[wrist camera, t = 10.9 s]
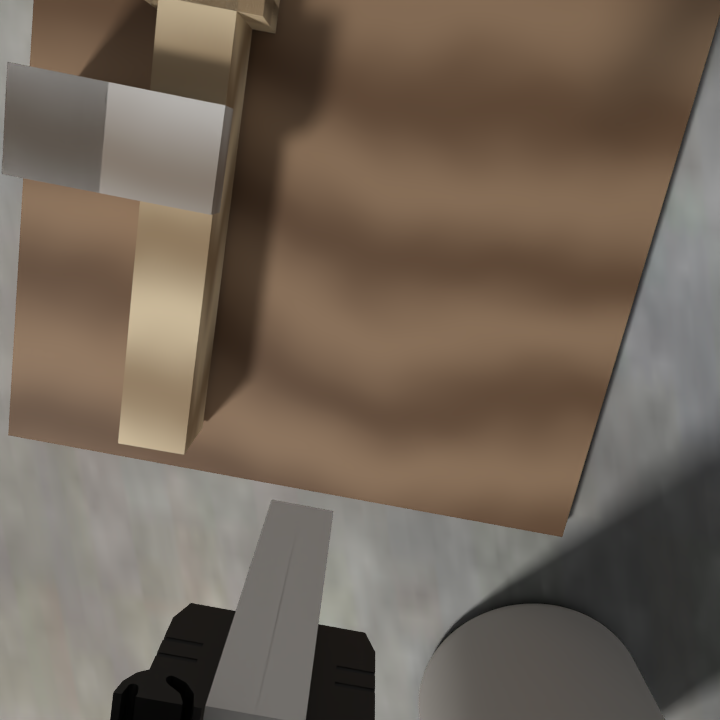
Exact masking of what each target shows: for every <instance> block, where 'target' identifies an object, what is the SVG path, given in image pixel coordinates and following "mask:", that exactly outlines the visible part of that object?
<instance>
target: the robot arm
mask: <svg viewBox="0 0 720 720" xmlns="http://www.w3.org/2000/svg"><path fill="white" fill-rule="evenodd" d="M332 517H333V511H330V510H325V509H319V508H314V507H309V506H303V505H298V504H293V503H287V502H282V501H276V500H271V504H270V507H269V510H268V513H267V516H266V519H265V522H264V525H263V528H262V531H261V535H260V538H259V541H258V544H257V547H256V550H255V553H254V556H253V559H252V562H251V566H250V569H249V572H248V575H247V578H246V581H245V584H244V587H243V590H242V594H241V597H240V600H239V603H238V606H237V609H236V611H232V610H226V609H221V608H215V607H210V606H204V605H199V604H193V603H191V604H189V605H188V606H187V607H186V608H184V609H183V610H182V611H181V612H179V613H178V614H177V615H176V616H175V617H173V619H172V621H171V624H170V626H169V628H168V630H167V632H166V635H165V637H164V640H163V641H162V643H161V645H160V648H159V650H158V652H157V656H155V659H154V661H153V663H152V665H151V667H150V670H146V671H141V672H137V673H135V674H134V675H132V676H130V677H129V678H127V679H125V680H124V681H122V683H121V684H120V685H119V686H118V688H117V689H116V690H115V691H114V693H113V701H112V710H111V718H110V720H375V693H374V691H375V651H374V649H373V647H372V645H371V643H370V641H369V639H368V637H367V635H366V634H365V633H363V632H358V631H352V630H347V629H341V628H336V627H330V626H325V625H319V624H318V623H319V615H320V608H321V600H322V593H323V585H324V578H325V570H326V563H327V555H328V547H329V540H330V532H331V525H332Z"/></svg>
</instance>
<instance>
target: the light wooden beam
mask: <svg viewBox="0 0 720 720" xmlns="http://www.w3.org/2000/svg"><path fill="white" fill-rule="evenodd" d="M145 1H146V2H148V3H149V4H150V5H152V6H153V7H154V8H156V9H157V19H156V30H155V41H154V52H153V63H152V74H151V85H150V90H151V91H156V92H161V93H166V94H171V95H176V96H181V97H186V98H191V99H196V100H201V101H206V102H211V103H216V104H221V105H225V106H228V107H230V108H232V109H233V116H232V124H231V131H230V139H229V146H228V153H227V161H226V168H225V176H224V183H223V191H222V198H221V206H220V213H216V214H212V215H209V214H204V213H199V212H194V211H189V210H183V209H178V208H173V207H168V206H163V205H158V204H153V203H148V202H143V201H140V206H139V217H138V228H137V239H136V250H135V261H134V272H133V283H132V294H131V305H130V317H129V328H128V339H127V350H126V361H125V372H124V383H123V394H122V405H121V416H120V427H119V438H118V443H119V444H125V445H131V446H136V447H142V448H148V449H154V450H159V451H165V452H171V453H177V454H183V455H184V454H185V453H186V451H187V450H188V448H189V447H190V445H191V444H192V442H193V441H194V439H195V438H196V436H197V435H198V433H199V432H200V430H201V429H202V427H203V421H204V413H205V405H206V397H207V389H208V381H209V373H210V365H211V357H212V349H213V341H214V333H215V325H216V317H217V309H218V301H219V293H220V285H221V277H222V269H223V261H224V253H225V245H226V237H227V229H228V221H229V213H230V205H231V197H232V189H233V181H234V173H235V165H236V157H237V149H238V141H239V133H240V125H241V117H242V109H243V101H244V93H245V85H246V77H247V69H248V61H249V53H250V45H251V37H252V29H254V30H259V31H264V32H269V33H275V34H276V26H277V19H278V11H279V4H280V0H145Z"/></svg>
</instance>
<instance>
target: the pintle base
mask: <svg viewBox="0 0 720 720" xmlns="http://www.w3.org/2000/svg"><path fill="white" fill-rule="evenodd" d="M719 16H720V0H280V4H279V11H278V19H277V26H276V34H275V33H269V32H264V31H259V30H254V29H252V37H251V45H250V53H249V61H248V69H247V77H246V85H245V93H244V101H243V109H242V117H241V125H240V133H239V141H238V149H237V157H236V165H235V173H234V181H233V189H232V197H231V205H230V213H229V221H228V229H227V237H226V245H225V253H224V261H223V269H222V277H221V285H220V293H219V301H218V309H217V317H216V325H215V333H214V341H213V349H212V357H211V365H210V373H209V381H208V389H207V397H206V405H205V413H204V421H203V427H202V429H201V430H200V432H199V433H198V435H197V436H196V438H195V439H194V441H193V442H192V444H191V445H190V447H189V448H188V450H187V451H186V453H185V454H184V455H183V454H177V453H171V452H165V451H159V450H154V449H148V448H142V447H136V446H131V445H125V444H119V443H118V438H119V427H120V416H121V405H122V394H123V383H124V372H125V361H126V350H127V339H128V328H129V317H130V305H131V294H132V283H133V272H134V261H135V250H136V239H137V228H138V217H139V206H140V201H143V202H148V203H153V204H158V205H163V206H168V207H173V208H178V209H183V210H189V211H194V212H199V213H204V214H209V215H212V214H216V213H220V206H221V198H222V191H223V183H224V176H225V168H226V161H227V153H228V146H229V139H230V131H231V124H232V116H233V109H232V108H230V107H228V106H225V105H221V104H216V103H211V102H206V101H201V100H196V99H191V98H186V97H181V96H176V95H171V94H166V93H161V92H156V91H151V90H150V85H151V74H152V63H153V52H154V41H155V30H156V19H157V9H156V8H154V7H153V6H152V5H150V4H149V3H148V2H146V1H145V0H34V4H33V22H32V39H31V56H30V66H26V65H21V64H16V63H11V62H7V80H6V100H5V120H4V140H3V160H2V174H4V175H9V176H15V177H20V178H23V193H22V210H21V228H20V245H19V262H18V279H17V296H16V313H15V331H14V348H13V365H12V382H11V399H10V416H9V433H8V435H10V436H16V437H21V438H27V439H32V440H38V441H43V442H48V443H54V444H59V445H65V446H70V447H76V448H81V449H87V450H92V451H97V452H103V453H108V454H114V455H119V456H125V457H130V458H135V459H141V460H146V461H152V462H157V463H163V464H168V465H174V466H179V467H184V468H190V469H195V470H201V471H206V472H212V473H217V474H222V475H228V476H233V477H239V478H244V479H250V480H255V481H261V482H266V483H271V484H277V485H282V486H288V487H293V488H299V489H304V490H309V491H315V492H320V493H326V494H331V495H337V496H342V497H348V498H353V499H358V500H364V501H369V502H375V503H380V504H386V505H391V506H396V507H402V508H407V509H413V510H418V511H424V512H429V513H435V514H440V515H445V516H451V517H456V518H462V519H467V520H473V521H478V522H483V523H489V524H494V525H500V526H505V527H511V528H516V529H522V530H527V531H532V532H538V533H543V534H549V535H554V536H560V537H562V536H563V532H564V529H565V526H566V522H567V519H568V516H569V512H570V509H571V506H572V503H573V499H574V496H575V493H576V489H577V486H578V483H579V479H580V476H581V473H582V469H583V466H584V463H585V460H586V456H587V453H588V450H589V446H590V443H591V440H592V436H593V433H594V430H595V426H596V423H597V420H598V417H599V413H600V410H601V407H602V403H603V400H604V397H605V393H606V390H607V387H608V383H609V380H610V377H611V374H612V370H613V367H614V364H615V360H616V357H617V354H618V350H619V347H620V344H621V340H622V337H623V334H624V331H625V327H626V324H627V321H628V317H629V314H630V311H631V307H632V304H633V301H634V297H635V294H636V291H637V287H638V284H639V281H640V278H641V274H642V271H643V268H644V264H645V261H646V258H647V254H648V251H649V248H650V244H651V241H652V238H653V235H654V231H655V228H656V225H657V221H658V218H659V215H660V211H661V208H662V205H663V201H664V198H665V195H666V192H667V188H668V185H669V182H670V178H671V175H672V172H673V168H674V165H675V162H676V158H677V155H678V152H679V149H680V145H681V142H682V139H683V135H684V132H685V129H686V125H687V122H688V119H689V115H690V112H691V109H692V106H693V102H694V99H695V96H696V92H697V89H698V86H699V82H700V79H701V76H702V72H703V69H704V66H705V63H706V59H707V56H708V53H709V49H710V46H711V43H712V39H713V36H714V33H715V29H716V26H717V23H718V19H719Z"/></svg>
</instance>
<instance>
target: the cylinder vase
mask: <svg viewBox="0 0 720 720" xmlns="http://www.w3.org/2000/svg"><path fill="white" fill-rule="evenodd" d="M419 717H420V720H665V719H664V717H663V715H662V713H661V711H660V709H659V707H658V705H657V703H656V702H655V700H654V698H653V696H652V694H651V692H650V690H649V688H648V686H647V684H646V683H645V681H644V679H643V677H642V675H641V673H640V671H639V669H638V667H637V666H636V664H635V662H634V660H633V658H632V656H631V655H630V653H629V651H628V650H627V648H626V647H625V646H624V645H623V643H622V642H621V641H620V640H619V639H618V638H617V637H616V636H615V635H614V634H613V633H612V632H611V631H610V630H609V629H607V628H606V627H605V626H604V625H602V624H601V623H599V622H598V621H596V620H594V619H592V618H591V617H589V616H587V615H585V614H582V613H580V612H577V611H575V610H572V609H568V608H565V607H560V606H555V605H549V604H518V605H511V606H506V607H501V608H498V609H494V610H491V611H489V612H486V613H483V614H481V615H479V616H477V617H475V618H473V619H471V620H469V621H468V622H466V623H465V624H463V625H462V626H460V627H459V628H457V629H456V630H455V631H454V632H452V633H451V634H450V635H449V636H448V637H447V638H446V639H445V640H444V641H443V642H442V644H441V645H440V646H439V647H438V648H437V650H436V651H435V653H434V654H433V656H432V657H431V659H430V661H429V663H428V665H427V667H426V669H425V672H424V674H423V677H422V681H421V685H420V691H419Z"/></svg>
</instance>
